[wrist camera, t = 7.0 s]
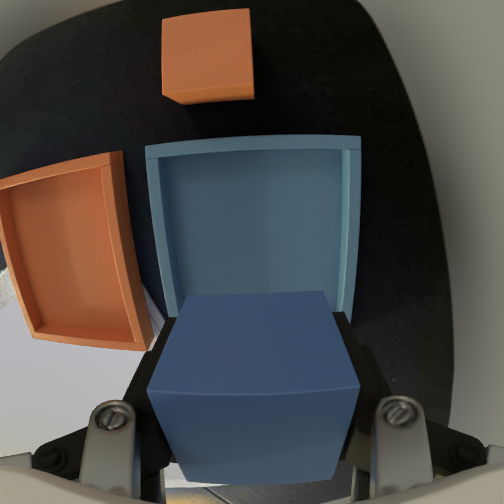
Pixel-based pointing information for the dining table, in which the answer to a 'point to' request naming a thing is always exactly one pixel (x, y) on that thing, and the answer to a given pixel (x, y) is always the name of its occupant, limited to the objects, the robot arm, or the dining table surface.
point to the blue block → (255, 389)
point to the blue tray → (257, 216)
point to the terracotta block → (208, 57)
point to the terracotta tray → (75, 253)
